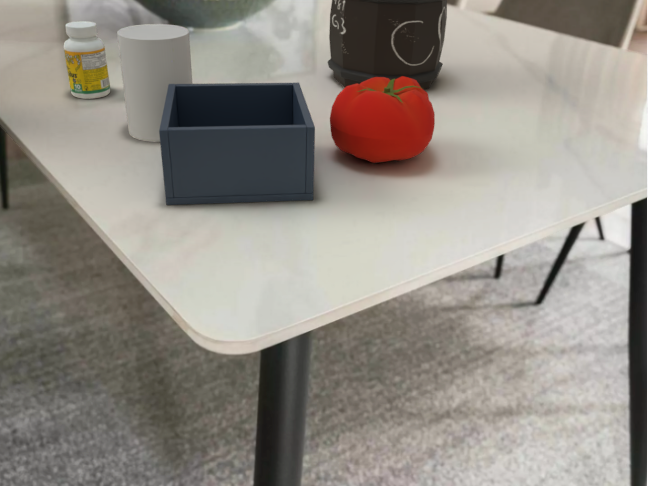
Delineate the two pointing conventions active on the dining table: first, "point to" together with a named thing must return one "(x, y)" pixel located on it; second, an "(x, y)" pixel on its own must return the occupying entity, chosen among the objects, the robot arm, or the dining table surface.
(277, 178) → the tote
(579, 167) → the dining table surface
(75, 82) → the supplement bottle
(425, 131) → the tomato
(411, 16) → the dark plant pot
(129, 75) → the cup
